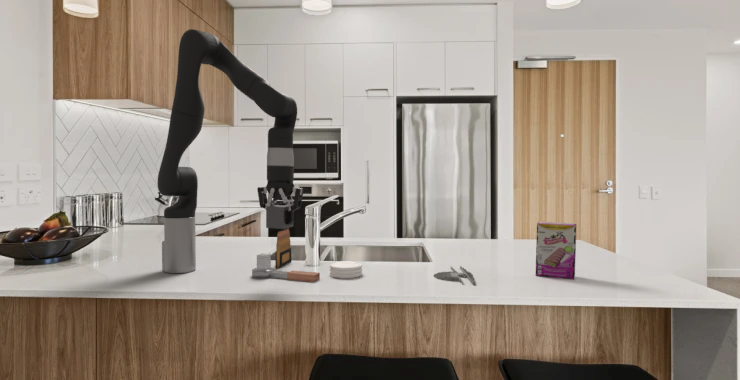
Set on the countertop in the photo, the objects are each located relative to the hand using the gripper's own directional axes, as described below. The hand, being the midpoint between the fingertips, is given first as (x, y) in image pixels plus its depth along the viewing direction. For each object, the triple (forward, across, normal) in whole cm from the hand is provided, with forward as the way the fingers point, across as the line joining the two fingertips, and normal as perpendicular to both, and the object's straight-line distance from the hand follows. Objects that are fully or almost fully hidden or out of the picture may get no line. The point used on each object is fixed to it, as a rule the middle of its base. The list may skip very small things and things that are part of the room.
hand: (280, 223), depth 132 cm
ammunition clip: (+17, -12, +23) cm, 31 cm away
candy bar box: (+16, +75, +36) cm, 85 cm away
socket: (+1, 0, 0) cm, 1 cm away
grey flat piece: (+17, +47, +26) cm, 56 cm away
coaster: (+17, +14, +16) cm, 27 cm away
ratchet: (+17, -2, +6) cm, 18 cm away
